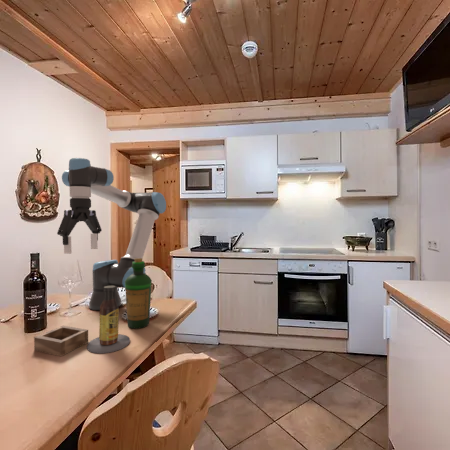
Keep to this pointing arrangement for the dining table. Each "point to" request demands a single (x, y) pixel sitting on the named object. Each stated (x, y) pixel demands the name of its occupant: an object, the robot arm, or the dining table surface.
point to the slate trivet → (96, 347)
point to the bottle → (138, 296)
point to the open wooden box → (61, 340)
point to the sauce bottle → (109, 317)
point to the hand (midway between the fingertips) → (81, 251)
